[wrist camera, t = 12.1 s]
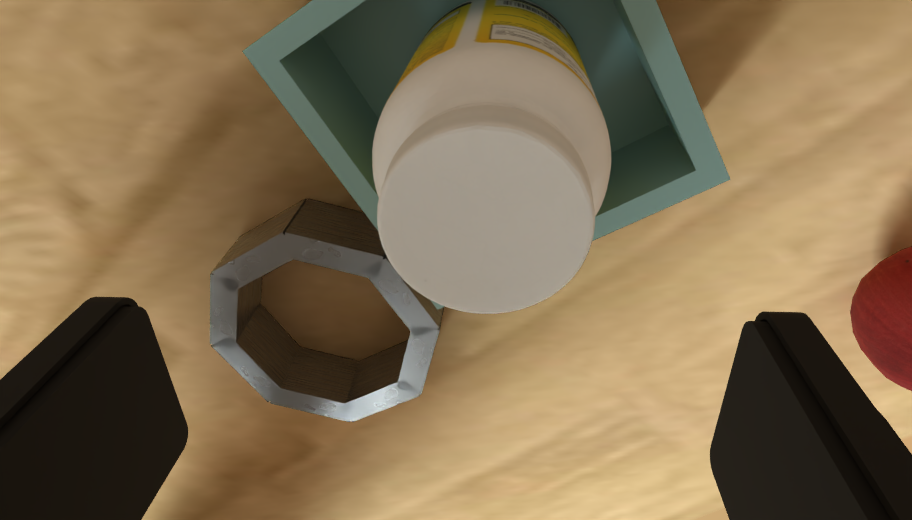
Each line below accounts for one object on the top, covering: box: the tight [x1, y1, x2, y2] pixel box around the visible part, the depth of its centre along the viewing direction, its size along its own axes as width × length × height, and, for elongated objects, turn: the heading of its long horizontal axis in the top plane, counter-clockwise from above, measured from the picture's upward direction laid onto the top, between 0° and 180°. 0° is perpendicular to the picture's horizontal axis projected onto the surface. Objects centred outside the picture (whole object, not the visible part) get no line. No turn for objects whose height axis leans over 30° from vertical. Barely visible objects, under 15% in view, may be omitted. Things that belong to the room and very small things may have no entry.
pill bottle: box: [372, 0, 611, 314], centre depth 17 cm, size 6×6×11 cm
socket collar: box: [210, 199, 444, 422], centre depth 28 cm, size 10×10×3 cm
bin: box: [242, 0, 730, 310], centre depth 20 cm, size 11×11×5 cm
